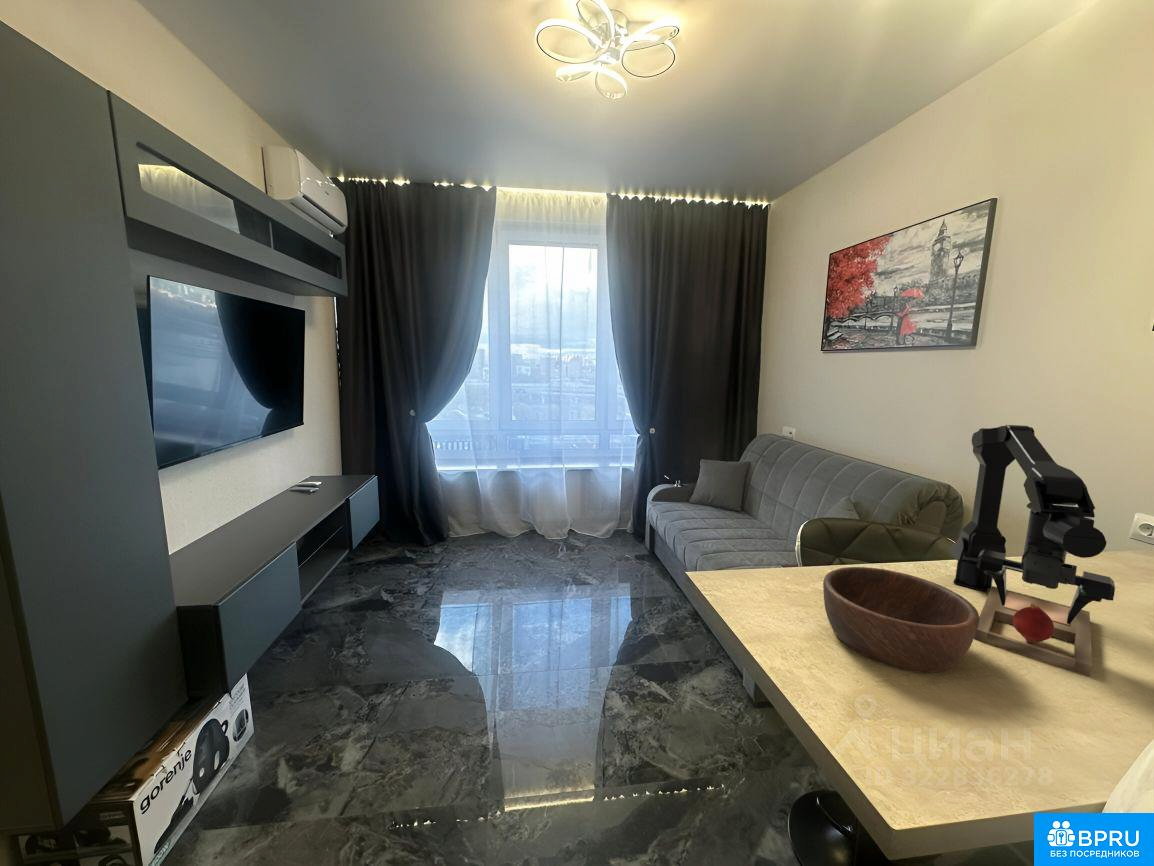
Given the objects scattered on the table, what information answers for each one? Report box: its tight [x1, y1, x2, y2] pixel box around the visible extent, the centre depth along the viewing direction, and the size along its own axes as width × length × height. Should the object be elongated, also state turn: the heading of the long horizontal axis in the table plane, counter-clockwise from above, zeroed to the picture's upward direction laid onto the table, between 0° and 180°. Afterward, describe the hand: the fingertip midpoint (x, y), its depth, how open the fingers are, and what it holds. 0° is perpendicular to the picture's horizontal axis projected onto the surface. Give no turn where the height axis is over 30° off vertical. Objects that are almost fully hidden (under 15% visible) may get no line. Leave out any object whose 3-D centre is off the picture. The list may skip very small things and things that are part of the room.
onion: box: [1012, 603, 1054, 644], centre depth 93 cm, size 6×6×8 cm
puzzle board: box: [973, 585, 1093, 677], centre depth 98 cm, size 16×28×2 cm, turn 133°
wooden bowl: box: [822, 566, 980, 673], centre depth 92 cm, size 25×25×10 cm
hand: (1034, 613), depth 93 cm, fingers open, 9 cm apart
